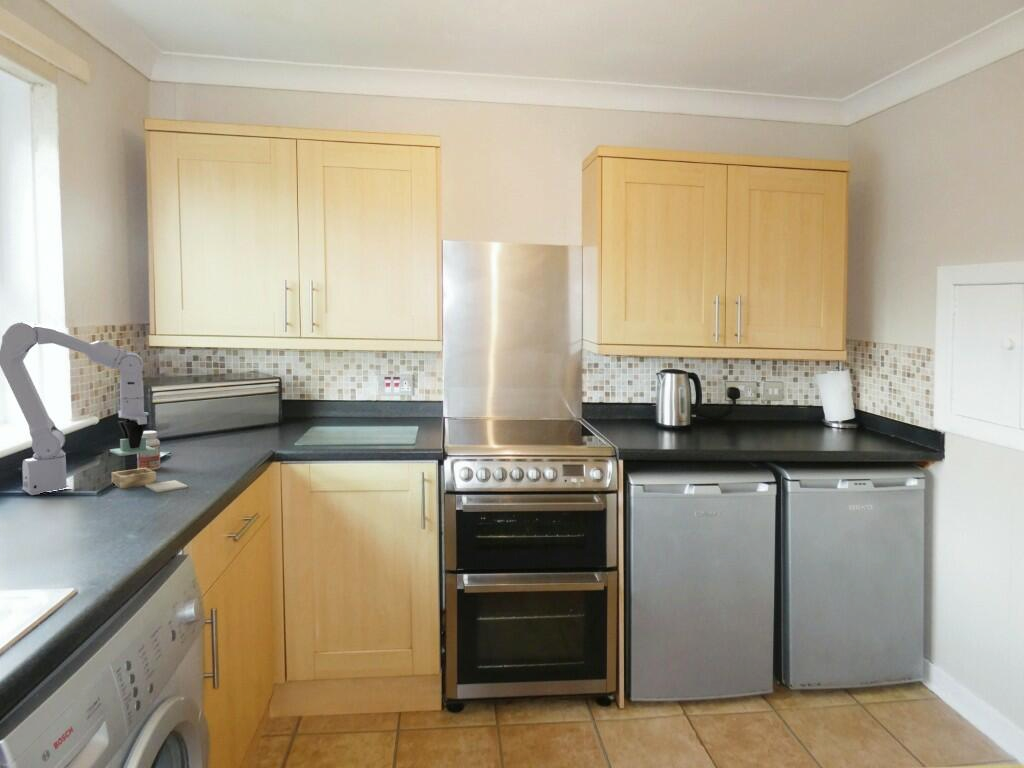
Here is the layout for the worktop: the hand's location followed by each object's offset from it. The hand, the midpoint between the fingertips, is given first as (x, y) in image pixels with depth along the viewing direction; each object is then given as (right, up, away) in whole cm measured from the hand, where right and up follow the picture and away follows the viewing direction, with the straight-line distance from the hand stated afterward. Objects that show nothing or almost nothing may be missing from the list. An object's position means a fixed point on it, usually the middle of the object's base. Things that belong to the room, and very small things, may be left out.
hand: (133, 447), depth 201 cm
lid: (0, -1, 0) cm, 1 cm away
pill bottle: (-5, -8, +19) cm, 21 cm away
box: (0, -10, +1) cm, 10 cm away
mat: (+10, -11, -1) cm, 14 cm away
